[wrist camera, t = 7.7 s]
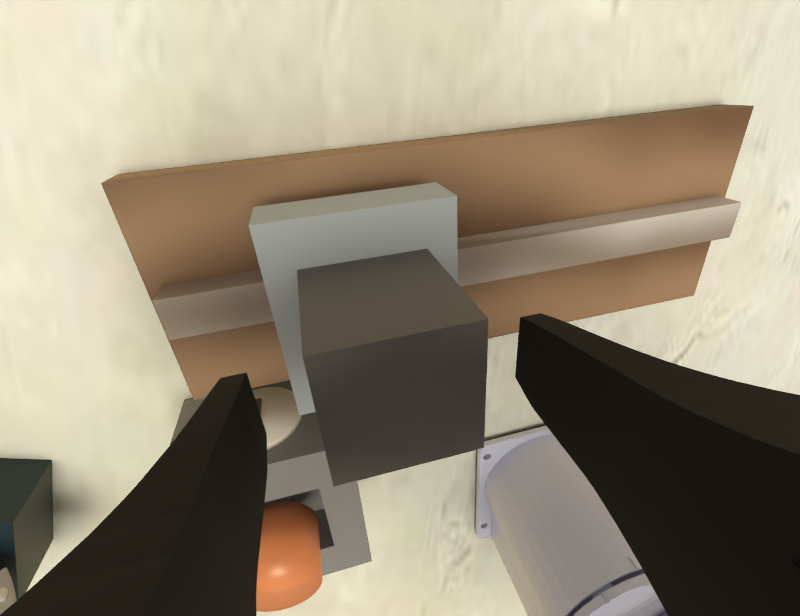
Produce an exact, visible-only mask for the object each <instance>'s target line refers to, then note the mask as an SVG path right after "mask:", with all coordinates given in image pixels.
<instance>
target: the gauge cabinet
mask: <svg viewBox="0 0 800 616" xmlns="http://www.w3.org/2000/svg"><path fill="white" fill-rule="evenodd" d="M252 391H253V394H254V397H255V400H256V403H257V406H258V409H259V412H260V415H261V418H262V421H263V424H264V427H265V430H266V433H267V470H268V472H267V483H266V493H265V503H264V506H265V505H268V504H271V503H276V502H284V501H290V502H298V503H302V504H305V505H307V506H309V507H310V508H312V509H313V510H314V511H315V513H316V514H317V517H318V526H319V539H320V552H321V565H322V576H323V575H326V574H330V573H333V572H336V571H340V570H343V569H347V568H350V567H353V566H357V565H360V564H363V563H367V562H370V561H372V560H371V554H370V549H369V543H368V538H367V532H366V527H365V521H364V516H363V510H362V505H361V499H360V494H359V488H358V483H357V481H354V482H350V483H346V484H342V485H338V486H333V482H332V478H331V474H330V470H329V466H328V461H327V457H326V453H325V449H324V445H323V440H322V436H321V432H320V428H319V424H318V419H317V415H316V412H313V413H309V414H304V415H300V416H299V412H298V409H297V405H296V401H295V397H294V394H293V390H292V386H291V382H290V380H288V381H283V382H278V383H274V384H269V385H264V386H259V387H255V388H252ZM204 399H205V398H202V399H197V400H194V399H193V398H192V399H187V400H184V403H183V406H182V409H181V413H180V416H179V419H178V422H177V425H176V428H175V431H174V434H173V438H172V441H171V444H172V442H173V441H174V440H175V438H176V437H177V436H178V434H179V433H180V432H181V430H182V429H183V428H184V427H185V425H186V424H187V423H188V421H189V420H190V419H191V417H192V416H193V414H194V413H195V412H196V410H197V409H198V408H199V406H200V405H201V403H202V402H203V401H204ZM171 444H170V445H171Z"/></svg>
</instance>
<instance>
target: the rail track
mask: <svg viewBox="0 0 800 616" xmlns="http://www.w3.org/2000/svg"><path fill="white" fill-rule="evenodd" d="M753 107H754V106H743V105H713V106H704V107H696V108H687V109H678V110H670V111H661V112H653V113H644V114H635V115H627V116H618V117H609V118H601V119H592V120H584V121H575V122H566V123H558V124H549V125H540V126H532V127H523V128H515V129H506V130H497V131H489V132H480V133H471V134H463V135H454V136H446V137H437V138H428V139H420V140H411V141H402V142H394V143H385V144H377V145H368V146H359V147H351V148H342V149H333V150H325V151H316V152H308V153H299V154H290V155H282V156H273V157H264V158H256V159H247V160H239V161H230V162H221V163H213V164H204V165H195V166H187V167H178V168H170V169H161V170H152V171H144V172H135V173H126V174H118V175H116V176H114V177H112V178H110V179H109V180H107V181H105V182H103V183H101V184H102V186H103V189H104V191H105V193H106V196H107V198H108V200H109V203H110V205H111V207H112V210H113V212H114V214H115V217H116V219H117V221H118V224H119V226H120V228H121V231H122V233H123V235H124V238H125V240H126V242H127V245H128V247H129V249H130V252H131V254H132V256H133V259H134V261H135V263H136V266H137V268H138V270H139V273H140V275H141V277H142V280H143V282H144V284H145V287H146V289H147V291H148V294H149V296H150V298H151V301H152V303H153V305H154V308H155V310H156V312H157V315H158V317H159V319H160V322H161V324H162V326H163V329H164V331H165V333H166V336H167V338H168V340H169V343H170V345H171V347H172V350H173V352H174V354H175V357H176V359H177V361H178V364H179V366H180V368H181V371H182V373H183V375H184V378H185V380H186V382H187V385H188V387H189V389H190V392H191V394H192V396H193V399H194V400H197V399H202V398H206V396H207V395H208V394H209V392H210V391H211V390H212V388H213V387H214V386H215V384H216V383H217V382H218V380H219V379H220V378H222V377H227V376H232V375H236V374H241V373H246V372H247V375H248V378H249V382H250V385H251V388H255V387H259V386H264V385H269V384H274V383H278V382H283V381H288V380H290V379H289V375H288V371H287V367H286V364H285V360H284V356H283V352H282V349H281V345H280V341H279V337H278V334H277V330H276V326H275V322H274V319H273V315H272V311H271V307H270V304H269V300H268V296H267V292H266V289H265V285H264V281H263V277H262V274H261V270H260V266H259V263H258V259H257V255H256V251H255V248H254V244H253V240H252V236H251V233H250V229H249V222H250V219H251V215H252V211H253V207H257V206H264V205H272V204H279V203H286V202H294V201H301V200H309V199H316V198H323V197H331V196H338V195H345V194H353V193H360V192H368V191H375V190H382V189H390V188H397V187H404V186H412V185H419V184H426V183H434V182H436V183H438V184H440V185H441V186H443V187H444V188H446V189H447V190H449V191H450V192H452V193H454V194H455V195H457V251H458V285H459V286H460V287H461V288H462V289H463V290H464V291H465V293H466V294H467V295H468V296H469V297H470V298H471V299H472V301H473V302H474V303H475V304H476V305H477V306H478V307H479V309H480V310H481V311H482V312H483V313H484V314H485V316H486V317H487V318H488V319H489V320H488V338H493V337H498V336H502V335H507V334H512V333H517V332H519V324H520V317H524V316H529V315H534V314H539V313H542V314H545V315H548V316H551V317H554V318H556V319H559V320H561V321H564V322H569V321H574V320H579V319H583V318H588V317H593V316H598V315H602V314H607V313H612V312H617V311H621V310H626V309H631V308H636V307H641V306H645V305H650V304H655V303H660V302H664V301H669V300H674V299H679V298H683V297H688V296H693V295H694V293H695V290H696V287H697V284H698V281H699V277H700V274H701V271H702V268H703V265H704V262H705V258H706V255H707V252H708V249H709V246H710V243H711V241H712V240H717V239H723V238H728V237H730V235H731V232H732V229H733V226H734V223H735V220H736V217H737V214H738V211H739V208H740V205H741V202H738V201H734V200H730V199H727V198H725V195H726V192H727V189H728V186H729V182H730V179H731V176H732V173H733V170H734V167H735V164H736V160H737V157H738V154H739V151H740V148H741V145H742V141H743V138H744V135H745V132H746V129H747V126H748V122H749V119H750V116H751V113H752V110H753Z"/></svg>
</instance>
